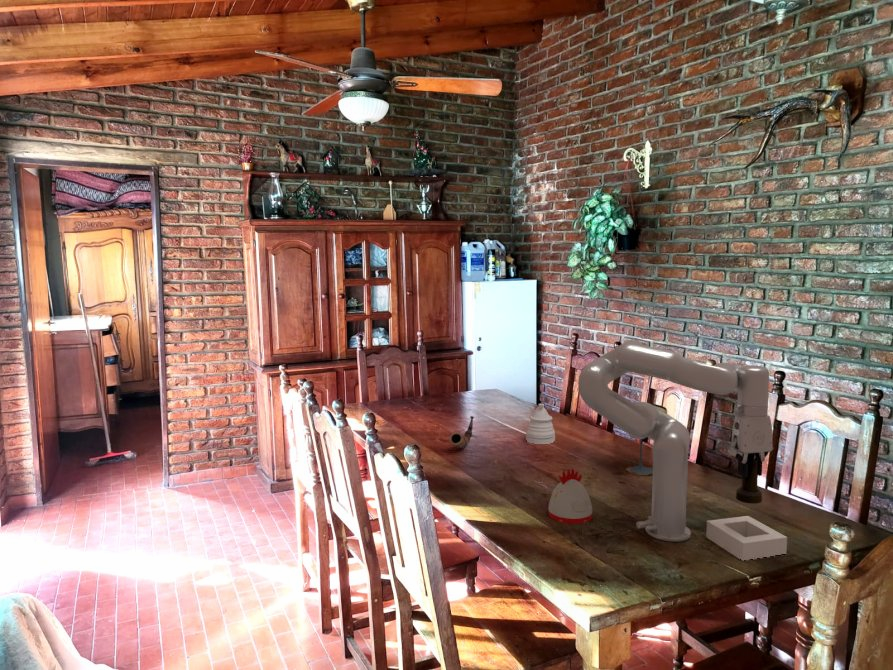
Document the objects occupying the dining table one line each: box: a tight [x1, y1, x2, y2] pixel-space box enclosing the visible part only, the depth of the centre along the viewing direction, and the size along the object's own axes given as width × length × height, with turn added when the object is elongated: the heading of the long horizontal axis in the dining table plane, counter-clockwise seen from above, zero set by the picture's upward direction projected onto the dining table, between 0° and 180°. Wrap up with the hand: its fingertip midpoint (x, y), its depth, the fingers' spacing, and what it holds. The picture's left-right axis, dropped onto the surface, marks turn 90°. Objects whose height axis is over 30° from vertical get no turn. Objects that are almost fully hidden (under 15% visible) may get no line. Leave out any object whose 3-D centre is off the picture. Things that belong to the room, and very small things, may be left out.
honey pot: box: [525, 403, 556, 444], centre depth 276 cm, size 13×13×18 cm
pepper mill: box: [735, 453, 763, 505], centre depth 172 cm, size 7×6×18 cm
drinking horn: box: [449, 415, 475, 450], centre depth 273 cm, size 5×29×10 cm, turn 163°
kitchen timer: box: [547, 468, 593, 525], centre depth 196 cm, size 14×14×15 cm
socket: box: [705, 515, 788, 562], centre depth 174 cm, size 14×15×5 cm
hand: (749, 474), depth 172 cm, fingers closed on pepper mill, 3 cm apart
